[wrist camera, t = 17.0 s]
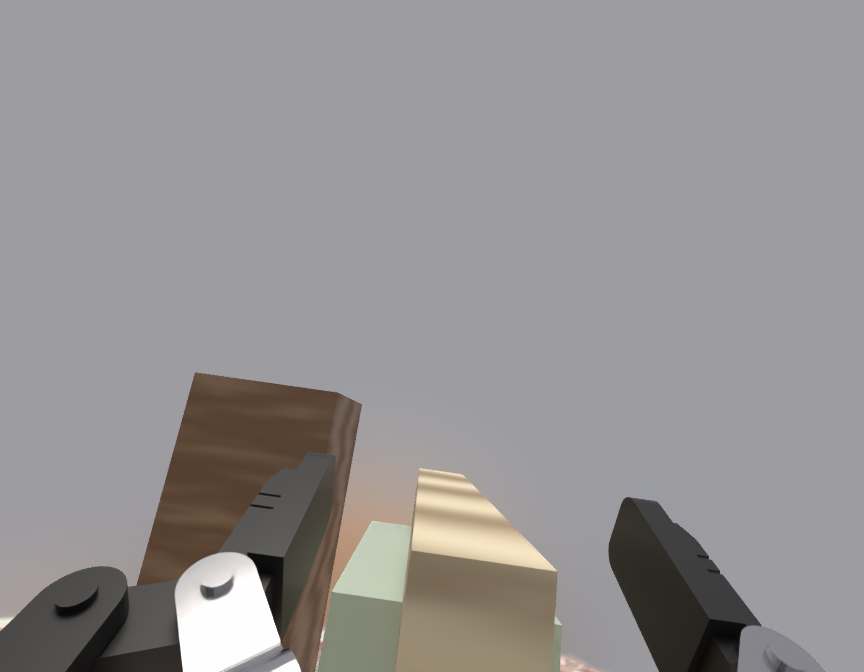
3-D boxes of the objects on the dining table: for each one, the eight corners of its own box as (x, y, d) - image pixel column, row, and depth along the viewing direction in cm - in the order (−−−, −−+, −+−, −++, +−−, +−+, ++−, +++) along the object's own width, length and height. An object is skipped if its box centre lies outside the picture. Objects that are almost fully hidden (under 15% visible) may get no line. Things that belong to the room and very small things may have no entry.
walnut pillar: (243, 884, 27) (337, 392, 34) (62, 856, 27) (195, 372, 34) (304, 731, 40) (361, 404, 48) (183, 714, 40) (259, 389, 48)
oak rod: (547, 748, 8) (557, 571, 9) (387, 724, 8) (411, 550, 9) (457, 520, 30) (462, 474, 30) (413, 514, 30) (419, 468, 30)
